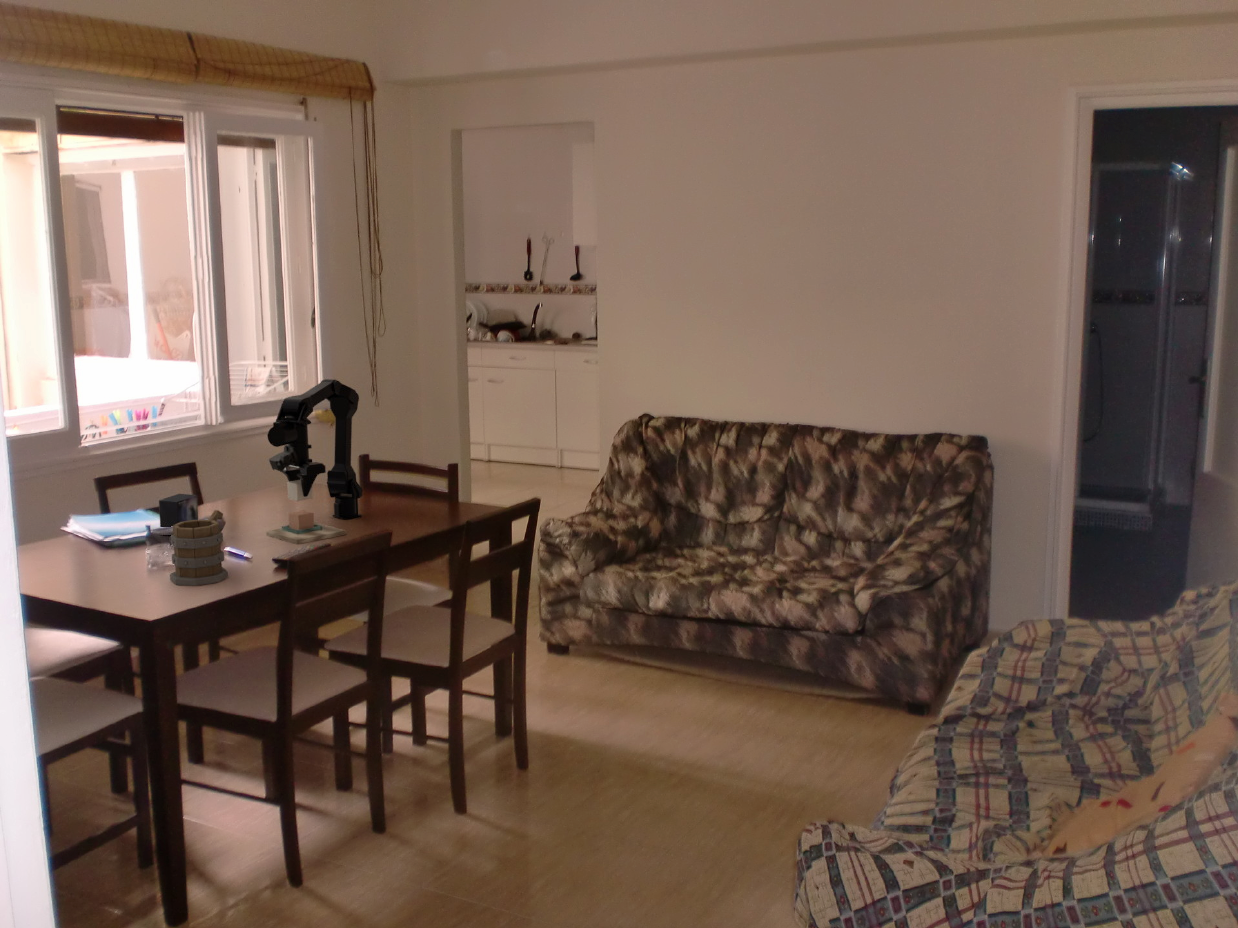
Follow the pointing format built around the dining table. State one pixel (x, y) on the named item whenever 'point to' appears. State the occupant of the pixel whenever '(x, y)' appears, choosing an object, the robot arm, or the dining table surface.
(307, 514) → the terracotta block
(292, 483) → the cream block
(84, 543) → the dining table surface
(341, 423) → the robot arm
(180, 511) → the small box
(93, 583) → the dining table surface
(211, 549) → the tankard
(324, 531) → the base plate
